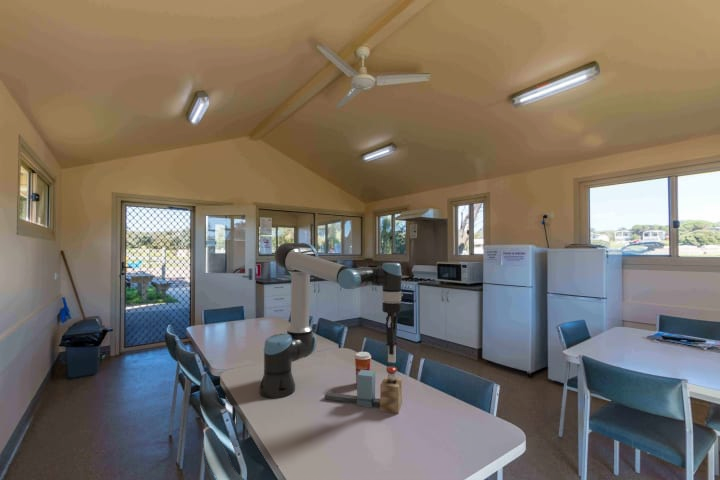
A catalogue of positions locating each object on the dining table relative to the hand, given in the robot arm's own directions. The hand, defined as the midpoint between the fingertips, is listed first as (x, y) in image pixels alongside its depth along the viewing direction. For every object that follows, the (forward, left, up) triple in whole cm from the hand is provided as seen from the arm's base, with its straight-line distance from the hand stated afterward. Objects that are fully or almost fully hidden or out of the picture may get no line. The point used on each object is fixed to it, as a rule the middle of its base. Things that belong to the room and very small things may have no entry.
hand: (391, 361), depth 133 cm
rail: (-16, 0, -18) cm, 24 cm away
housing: (0, 0, -18) cm, 18 cm away
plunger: (0, 0, -9) cm, 9 cm away
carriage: (-10, 0, -18) cm, 21 cm away
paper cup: (-17, +18, -18) cm, 30 cm away
